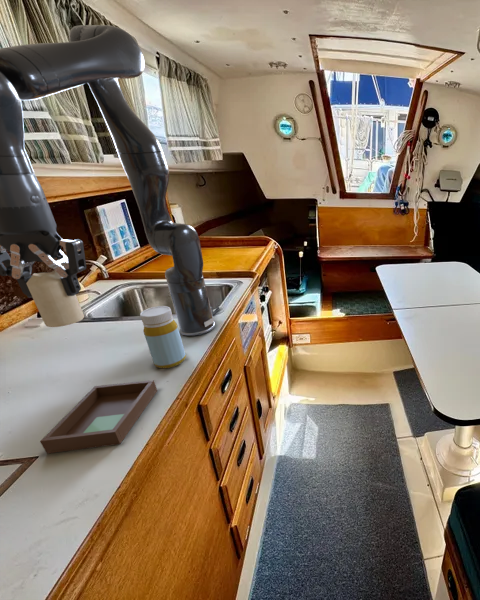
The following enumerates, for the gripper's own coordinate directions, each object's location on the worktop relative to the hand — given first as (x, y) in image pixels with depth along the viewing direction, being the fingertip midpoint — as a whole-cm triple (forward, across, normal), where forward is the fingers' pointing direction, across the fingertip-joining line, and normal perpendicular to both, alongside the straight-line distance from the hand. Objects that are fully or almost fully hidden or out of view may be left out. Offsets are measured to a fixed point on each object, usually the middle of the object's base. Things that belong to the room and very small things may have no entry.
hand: (54, 294), depth 61 cm
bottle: (+26, -8, -15) cm, 31 cm away
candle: (+6, 0, 0) cm, 6 cm away
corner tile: (+25, -6, +9) cm, 27 cm away
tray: (+26, -4, +5) cm, 27 cm away
